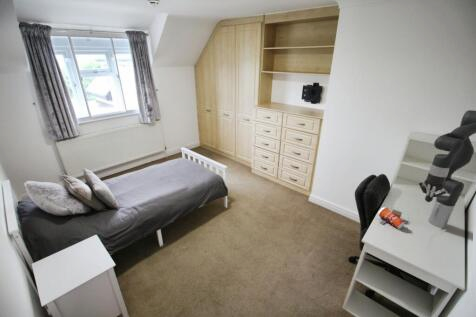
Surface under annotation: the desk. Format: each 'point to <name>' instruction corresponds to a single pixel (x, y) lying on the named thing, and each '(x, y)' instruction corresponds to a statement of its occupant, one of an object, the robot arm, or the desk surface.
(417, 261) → the desk surface
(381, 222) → the slate strip
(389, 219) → the paper cup
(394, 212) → the walnut block
